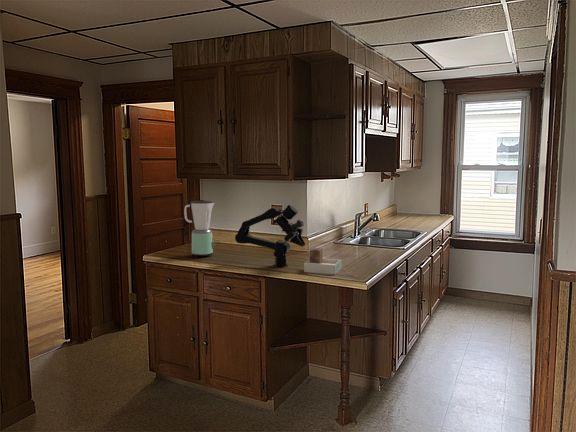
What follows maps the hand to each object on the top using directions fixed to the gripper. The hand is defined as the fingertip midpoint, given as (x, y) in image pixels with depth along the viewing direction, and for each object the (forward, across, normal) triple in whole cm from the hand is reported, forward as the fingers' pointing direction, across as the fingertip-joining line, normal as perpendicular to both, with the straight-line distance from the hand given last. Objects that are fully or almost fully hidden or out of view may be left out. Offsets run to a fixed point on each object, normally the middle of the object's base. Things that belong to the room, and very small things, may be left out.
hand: (303, 245), depth 271 cm
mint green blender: (-41, +10, +59) cm, 72 cm away
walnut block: (+12, 0, +2) cm, 12 cm away
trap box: (+17, -3, +1) cm, 17 cm away
